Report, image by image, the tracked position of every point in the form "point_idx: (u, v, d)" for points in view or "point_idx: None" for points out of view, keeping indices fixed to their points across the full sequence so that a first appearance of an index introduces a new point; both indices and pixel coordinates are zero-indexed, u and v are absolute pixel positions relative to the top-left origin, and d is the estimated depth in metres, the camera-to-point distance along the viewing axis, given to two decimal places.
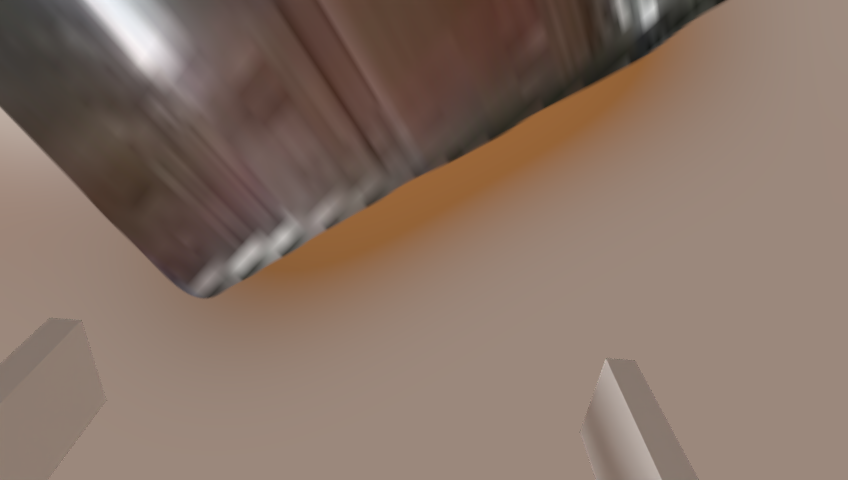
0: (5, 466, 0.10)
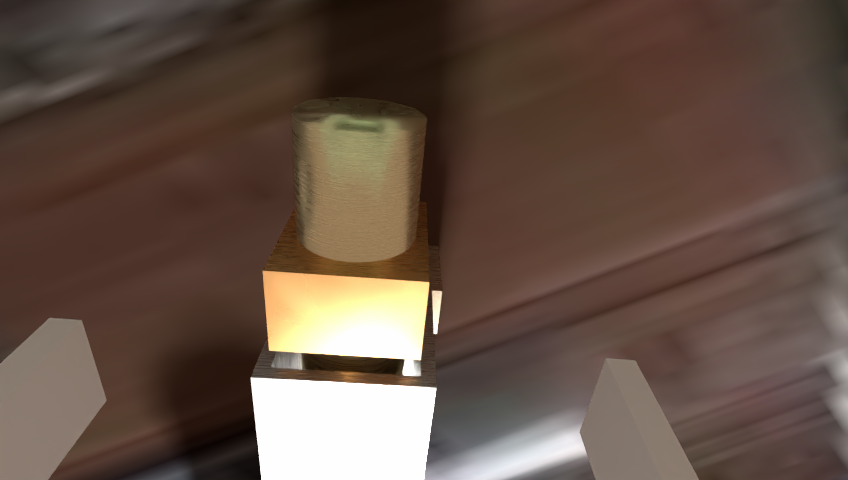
0: (5, 466, 0.10)
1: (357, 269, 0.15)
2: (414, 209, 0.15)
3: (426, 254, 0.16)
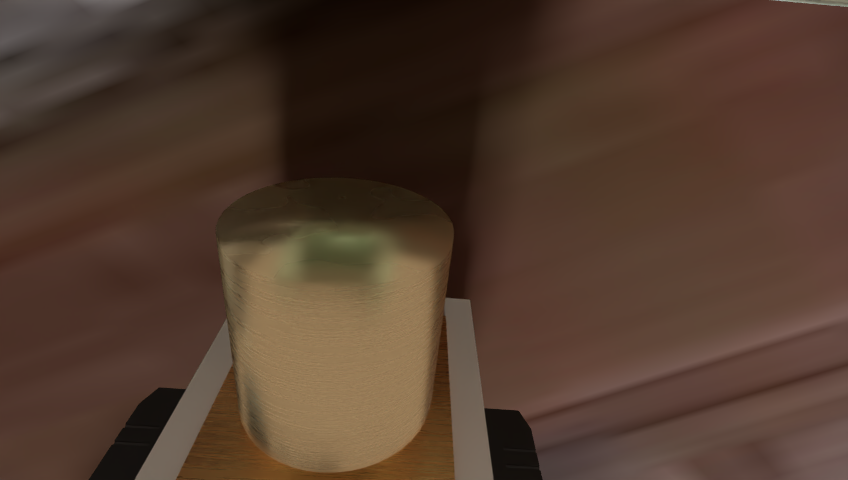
0: None
1: None
2: (431, 372, 0.09)
3: (449, 444, 0.09)
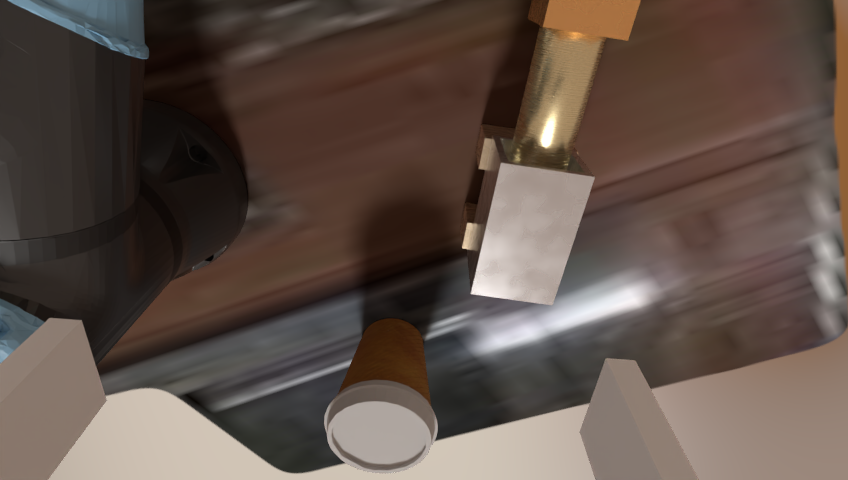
0: (5, 466, 0.10)
1: None
2: None
3: None
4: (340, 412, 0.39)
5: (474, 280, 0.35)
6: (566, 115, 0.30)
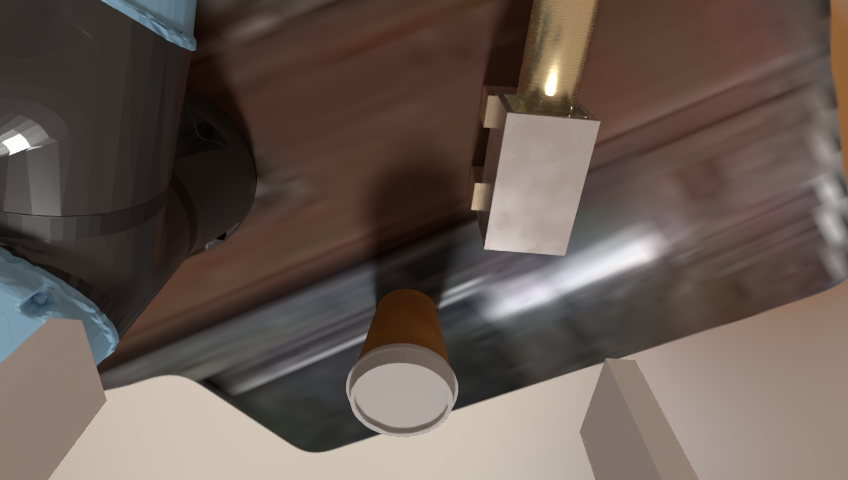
0: (5, 466, 0.10)
1: None
2: None
3: None
4: (362, 377, 0.39)
5: (487, 235, 0.35)
6: (568, 61, 0.31)
